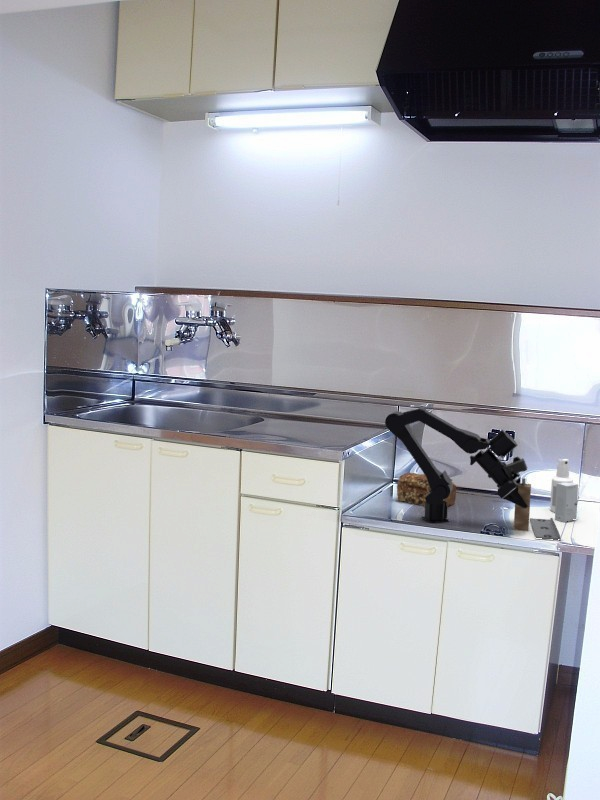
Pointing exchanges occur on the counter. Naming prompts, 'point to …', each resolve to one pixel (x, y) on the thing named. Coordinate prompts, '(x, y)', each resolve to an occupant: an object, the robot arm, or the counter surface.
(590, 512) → the counter surface
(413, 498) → the bread
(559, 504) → the skincare box
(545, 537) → the flange strip
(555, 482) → the spray bottle
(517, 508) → the post
